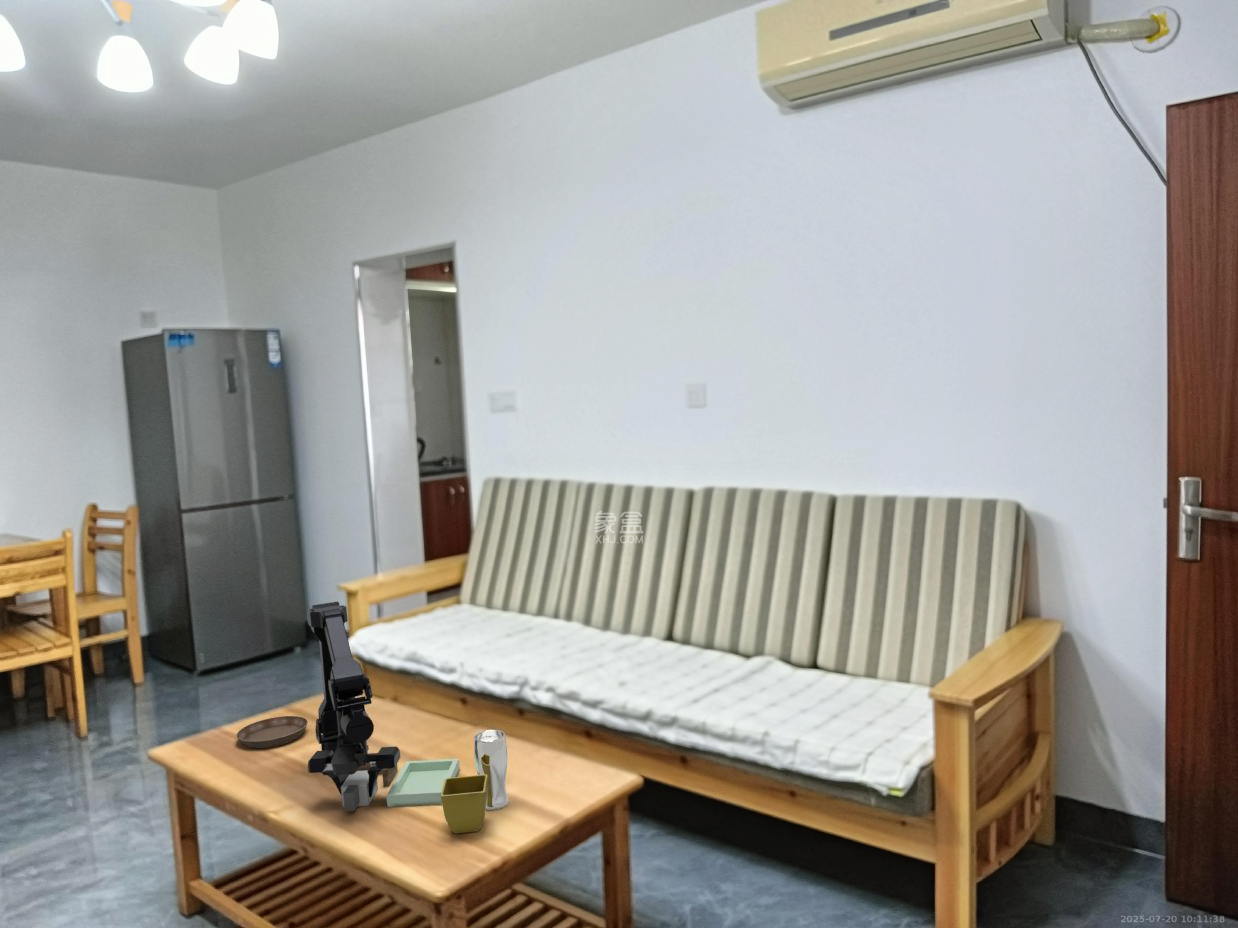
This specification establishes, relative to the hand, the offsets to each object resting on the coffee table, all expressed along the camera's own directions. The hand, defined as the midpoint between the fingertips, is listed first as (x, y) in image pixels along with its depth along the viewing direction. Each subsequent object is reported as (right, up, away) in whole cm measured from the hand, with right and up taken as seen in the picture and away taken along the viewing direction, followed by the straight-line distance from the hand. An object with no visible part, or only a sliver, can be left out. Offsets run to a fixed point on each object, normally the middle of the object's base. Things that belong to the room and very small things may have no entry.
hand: (357, 797), depth 199 cm
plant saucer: (-34, 0, +42) cm, 54 cm away
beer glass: (+30, 0, -5) cm, 31 cm away
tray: (+14, 0, +5) cm, 15 cm away
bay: (0, 0, +11) cm, 11 cm away
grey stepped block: (0, -1, 0) cm, 1 cm away
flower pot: (+26, -1, -15) cm, 30 cm away
